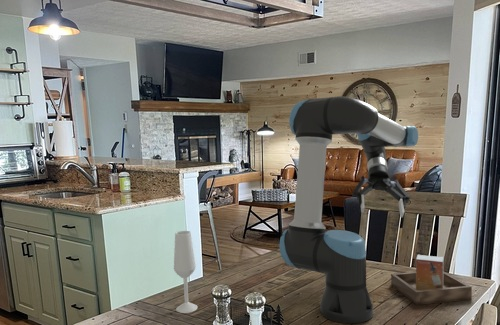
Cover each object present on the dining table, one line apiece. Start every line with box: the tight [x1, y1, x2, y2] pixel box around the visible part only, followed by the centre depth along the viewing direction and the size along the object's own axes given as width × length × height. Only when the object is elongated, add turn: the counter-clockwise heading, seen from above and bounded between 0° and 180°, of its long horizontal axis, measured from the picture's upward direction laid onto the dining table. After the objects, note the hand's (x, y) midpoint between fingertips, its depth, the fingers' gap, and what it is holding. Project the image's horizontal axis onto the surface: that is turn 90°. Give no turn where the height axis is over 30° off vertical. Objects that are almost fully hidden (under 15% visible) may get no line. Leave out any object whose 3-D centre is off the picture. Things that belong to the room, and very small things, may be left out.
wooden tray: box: [390, 271, 473, 306], centre depth 129 cm, size 18×16×4 cm
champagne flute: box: [173, 230, 199, 314], centre depth 123 cm, size 7×7×24 cm
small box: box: [415, 254, 445, 290], centre depth 128 cm, size 8×6×10 cm
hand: (382, 212), depth 140 cm, fingers open, 13 cm apart
